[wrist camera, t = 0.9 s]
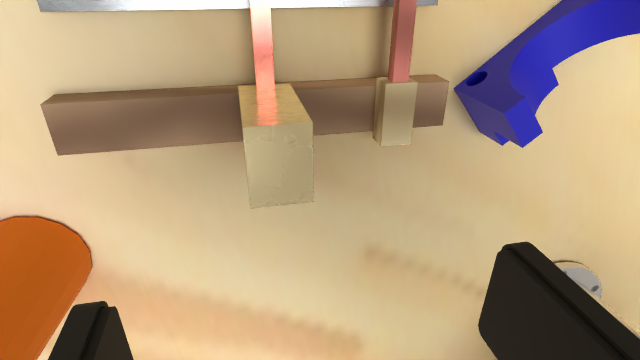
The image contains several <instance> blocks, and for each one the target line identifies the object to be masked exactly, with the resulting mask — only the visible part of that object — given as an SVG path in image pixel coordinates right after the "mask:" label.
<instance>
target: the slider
mask: <svg viewBox="0 0 640 360" xmlns="http://www.w3.org/2000/svg"><path fill="white" fill-rule="evenodd" d="M249 4H250V17H251V30H252V43H253V56H254V69H255V81H256V85H251V86H238V91H239V101H240V111H241V121H242V131H243V142H244V152H245V161H246V170H247V179H248V189H249V198H250V207H251V208H260V207H269V206H278V205H287V204H296V203H305V202H314V201H313V122H312V120H311V119H310V117H309V115H308V114H307V112H306V110H305V108H304V107H303V105H302V103H301V102H300V100H299V98H298V97H297V95H296V93H295V91H294V90H293V88H292V86H291V85H290V83H289V84H275V83H274V64H273V46H272V28H271V10H270V0H249Z"/></svg>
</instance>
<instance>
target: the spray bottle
mask: <svg viewBox="0 0 640 360" xmlns="http://www.w3.org/2000/svg"><path fill="white" fill-rule="evenodd" d="M91 268H92V264H91V258H90V251H89V249H88V248H87V246H86V245H85V244H84V242H83V241H82V240H81V238H80V237H79V236H78V235H77V234H75V233H74V232H72V231H71V230H69V229H68V228H66V227H65V226H63V225H62V224H59V223H55V222H52V221H49V220H45V219H42V218H37V217H14V218H11V219H8V220H5V221H2V222H0V360H37V359H38V357H39V356H40V354H41V352H42V351H43V349H44V348H45V346H46V344H47V343H48V341H49V340H50V338H51V336H52V335H53V333H54V332H55V330H56V328H57V327H58V325H59V324H60V322H61V320H62V319H63V317H64V316H65V314H66V312H67V311H68V309H69V308H70V306H71V304H72V303H73V301H74V300H75V298H76V296H77V295H78V293H79V292H80V290H81V288H82V287H83V285H84V284H85V282H86V280H87V278H88V275H89V273H90V271H91Z"/></svg>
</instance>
